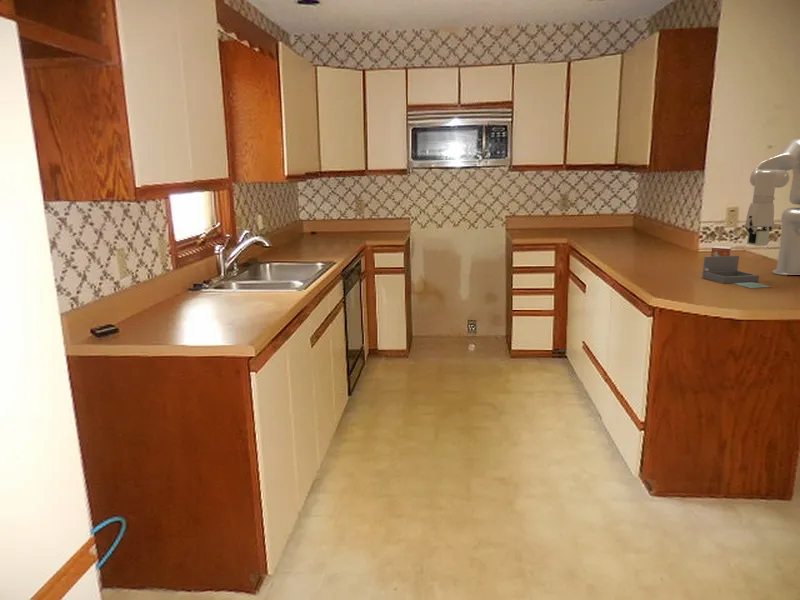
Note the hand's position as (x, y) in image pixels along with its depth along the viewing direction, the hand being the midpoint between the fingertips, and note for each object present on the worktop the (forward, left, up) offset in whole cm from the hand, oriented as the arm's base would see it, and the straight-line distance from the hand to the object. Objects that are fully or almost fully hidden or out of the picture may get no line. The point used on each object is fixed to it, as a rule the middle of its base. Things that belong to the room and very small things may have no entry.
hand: (757, 242), depth 257 cm
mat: (0, 0, -19) cm, 19 cm away
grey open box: (0, -12, -19) cm, 23 cm away
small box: (-6, -27, -19) cm, 34 cm away
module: (0, 0, -1) cm, 1 cm away
